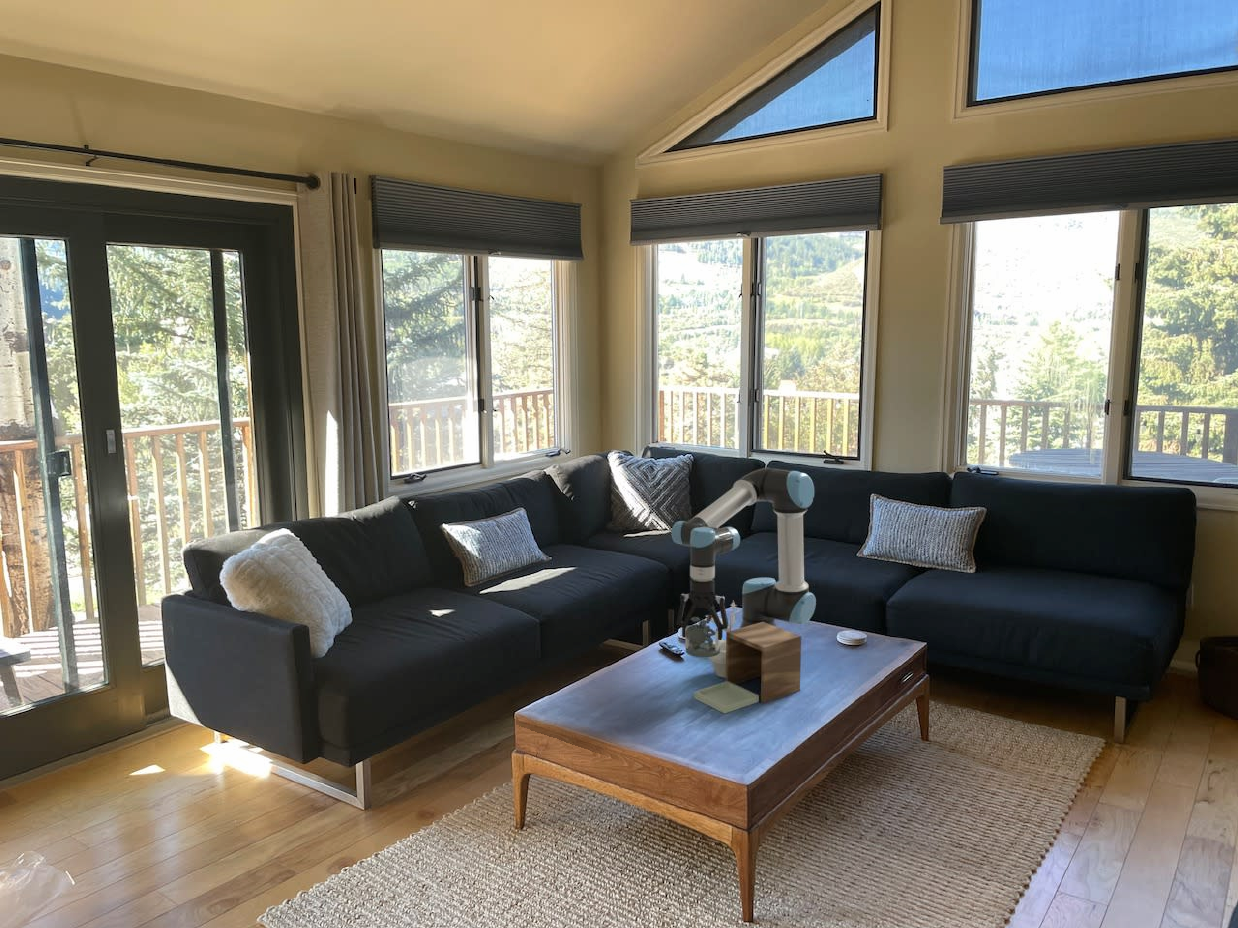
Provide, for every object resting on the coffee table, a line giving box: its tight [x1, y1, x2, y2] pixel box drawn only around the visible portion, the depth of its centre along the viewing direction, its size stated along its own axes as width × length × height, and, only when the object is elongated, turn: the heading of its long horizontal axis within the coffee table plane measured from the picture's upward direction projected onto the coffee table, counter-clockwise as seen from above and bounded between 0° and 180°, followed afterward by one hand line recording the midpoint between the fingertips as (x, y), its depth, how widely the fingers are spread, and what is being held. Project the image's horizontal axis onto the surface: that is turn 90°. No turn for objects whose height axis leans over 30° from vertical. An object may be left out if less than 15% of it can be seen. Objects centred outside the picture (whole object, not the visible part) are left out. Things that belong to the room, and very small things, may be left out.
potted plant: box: [705, 599, 741, 679], centre depth 314 cm, size 13×12×25 cm
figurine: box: [685, 614, 720, 659], centre depth 297 cm, size 11×11×12 cm
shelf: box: [725, 622, 802, 704], centre depth 303 cm, size 17×16×18 cm
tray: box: [693, 680, 760, 714], centre depth 296 cm, size 14×14×2 cm
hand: (702, 648), depth 298 cm, fingers closed on figurine, 9 cm apart
